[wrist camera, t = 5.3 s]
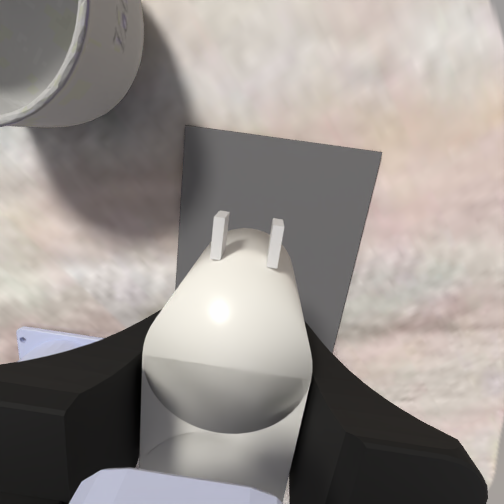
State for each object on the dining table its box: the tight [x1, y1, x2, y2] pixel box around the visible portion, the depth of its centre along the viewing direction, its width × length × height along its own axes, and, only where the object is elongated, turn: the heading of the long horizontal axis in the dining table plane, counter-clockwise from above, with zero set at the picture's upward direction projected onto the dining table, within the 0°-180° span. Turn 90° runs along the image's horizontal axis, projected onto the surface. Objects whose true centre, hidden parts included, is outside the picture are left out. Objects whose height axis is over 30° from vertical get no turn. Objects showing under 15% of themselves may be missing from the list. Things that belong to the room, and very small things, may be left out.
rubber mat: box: [175, 125, 382, 353], centre depth 21 cm, size 16×12×1 cm
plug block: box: [139, 211, 312, 502], centre depth 10 cm, size 9×4×6 cm, turn 172°
